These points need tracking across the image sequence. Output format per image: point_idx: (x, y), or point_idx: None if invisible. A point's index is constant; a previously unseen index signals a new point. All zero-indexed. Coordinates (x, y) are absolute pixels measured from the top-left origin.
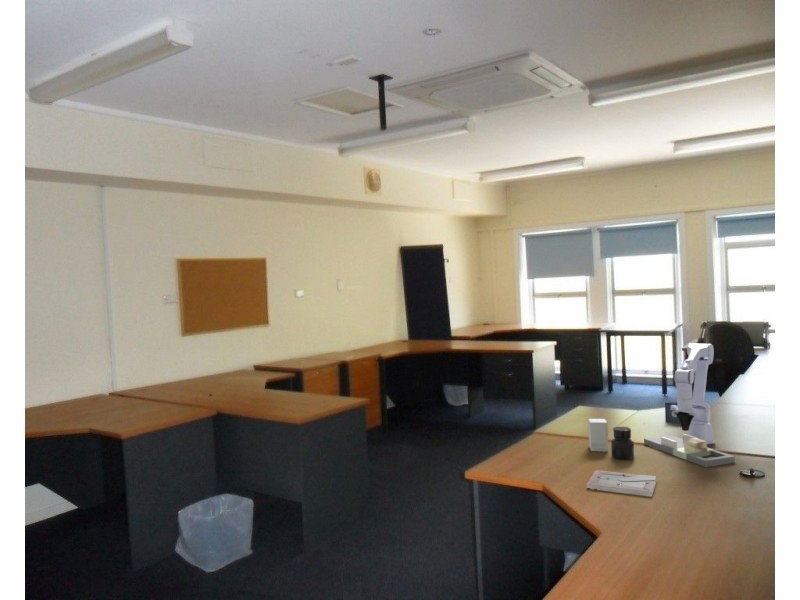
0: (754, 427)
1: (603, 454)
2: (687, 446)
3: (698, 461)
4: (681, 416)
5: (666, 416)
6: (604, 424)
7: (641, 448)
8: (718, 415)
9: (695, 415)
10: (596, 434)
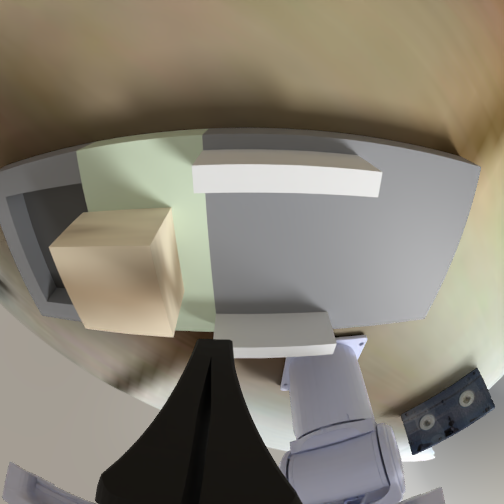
0: None
1: None
2: (129, 221)
3: (22, 162)
4: (157, 492)
5: (480, 380)
6: None
7: (419, 72)
8: None
9: (12, 475)
10: None
